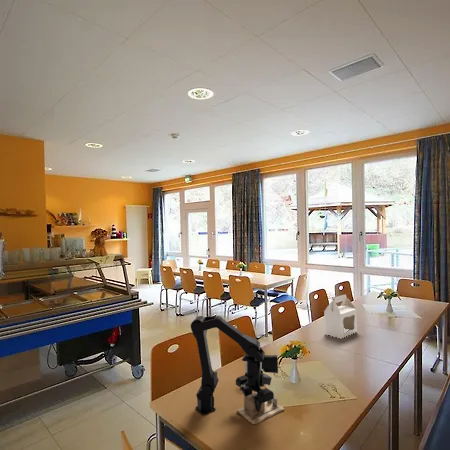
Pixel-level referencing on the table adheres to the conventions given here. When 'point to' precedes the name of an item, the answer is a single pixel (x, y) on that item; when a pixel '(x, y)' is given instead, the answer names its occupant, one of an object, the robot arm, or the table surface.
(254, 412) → the upright wooden block
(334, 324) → the gable box
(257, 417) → the guide board
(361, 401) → the table surface
